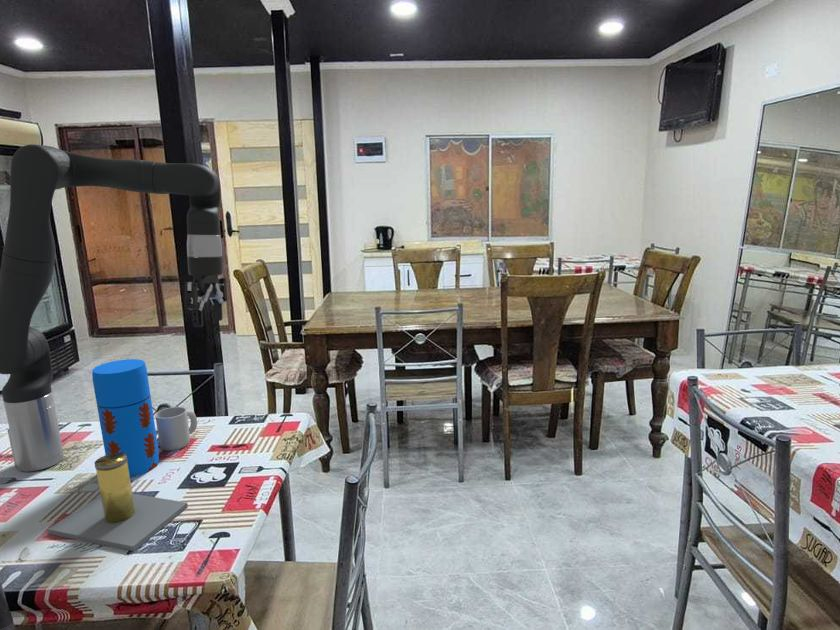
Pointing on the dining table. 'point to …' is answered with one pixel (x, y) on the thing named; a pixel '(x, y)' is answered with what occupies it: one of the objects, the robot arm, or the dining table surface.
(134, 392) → the thermos
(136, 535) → the slate board
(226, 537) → the dining table surface
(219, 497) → the dining table surface
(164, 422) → the cup
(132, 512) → the canister
